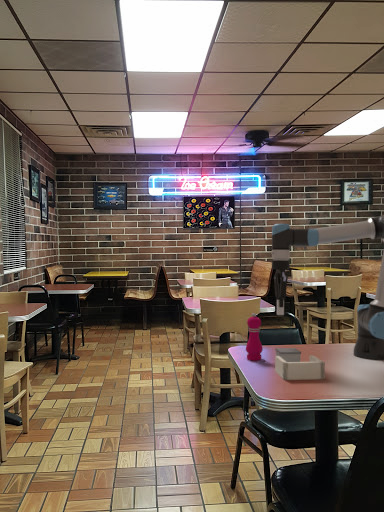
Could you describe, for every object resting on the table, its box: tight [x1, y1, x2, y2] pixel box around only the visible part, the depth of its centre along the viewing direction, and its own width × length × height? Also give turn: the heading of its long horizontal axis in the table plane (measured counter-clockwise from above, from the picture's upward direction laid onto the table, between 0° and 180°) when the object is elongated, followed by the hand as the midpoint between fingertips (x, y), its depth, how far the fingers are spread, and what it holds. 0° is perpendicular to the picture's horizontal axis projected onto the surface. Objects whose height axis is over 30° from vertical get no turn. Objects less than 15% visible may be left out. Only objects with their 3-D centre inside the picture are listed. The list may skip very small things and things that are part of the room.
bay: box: [274, 354, 326, 381], centre depth 158 cm, size 15×12×6 cm
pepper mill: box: [245, 312, 263, 362], centre depth 184 cm, size 7×7×20 cm
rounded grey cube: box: [274, 347, 302, 362], centre depth 172 cm, size 8×7×7 cm
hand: (280, 314), depth 182 cm, fingers closed
